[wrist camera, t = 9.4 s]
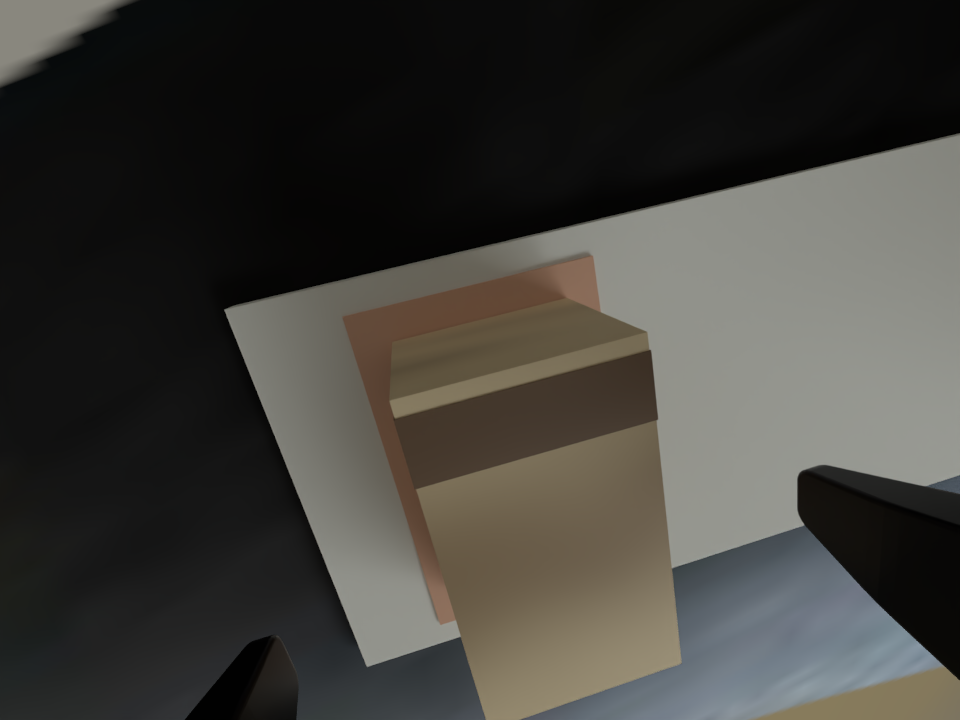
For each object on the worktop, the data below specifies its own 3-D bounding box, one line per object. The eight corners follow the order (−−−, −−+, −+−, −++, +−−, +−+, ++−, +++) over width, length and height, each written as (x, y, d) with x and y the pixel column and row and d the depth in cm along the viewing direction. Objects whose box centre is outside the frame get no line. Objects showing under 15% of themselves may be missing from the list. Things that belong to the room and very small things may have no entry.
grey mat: (1092, 101, 12) (1127, 95, 11) (1031, 438, 15) (1055, 446, 14) (232, 305, 10) (222, 310, 9) (368, 650, 13) (366, 670, 12)
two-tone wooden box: (606, 546, 12) (683, 663, 9) (462, 591, 12) (488, 731, 9) (567, 297, 10) (650, 331, 7) (391, 341, 10) (387, 401, 7)
